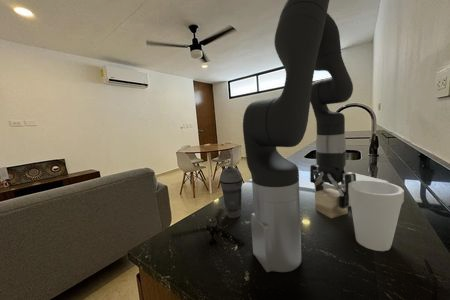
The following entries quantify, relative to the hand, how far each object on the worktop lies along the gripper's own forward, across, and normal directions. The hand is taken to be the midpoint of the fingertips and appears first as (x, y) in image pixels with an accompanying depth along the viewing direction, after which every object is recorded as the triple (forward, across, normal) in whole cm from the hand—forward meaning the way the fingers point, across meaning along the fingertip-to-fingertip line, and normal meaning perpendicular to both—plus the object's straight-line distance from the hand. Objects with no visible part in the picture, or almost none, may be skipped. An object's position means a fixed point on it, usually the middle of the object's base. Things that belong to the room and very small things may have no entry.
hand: (331, 201), depth 58 cm
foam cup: (+3, +15, -4) cm, 16 cm away
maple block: (+3, 0, 0) cm, 3 cm away
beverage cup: (+3, -12, -27) cm, 30 cm away
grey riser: (+3, -7, +16) cm, 17 cm away
